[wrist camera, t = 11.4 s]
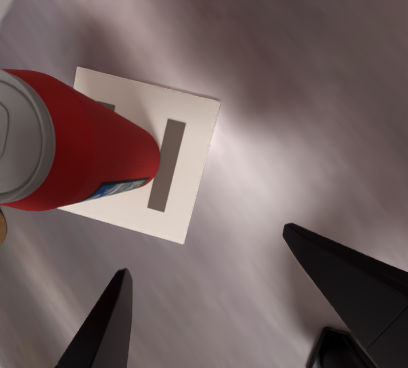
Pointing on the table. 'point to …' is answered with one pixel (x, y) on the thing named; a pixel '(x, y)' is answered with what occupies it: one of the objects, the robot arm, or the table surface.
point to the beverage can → (65, 145)
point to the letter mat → (168, 146)
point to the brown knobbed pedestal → (2, 228)
